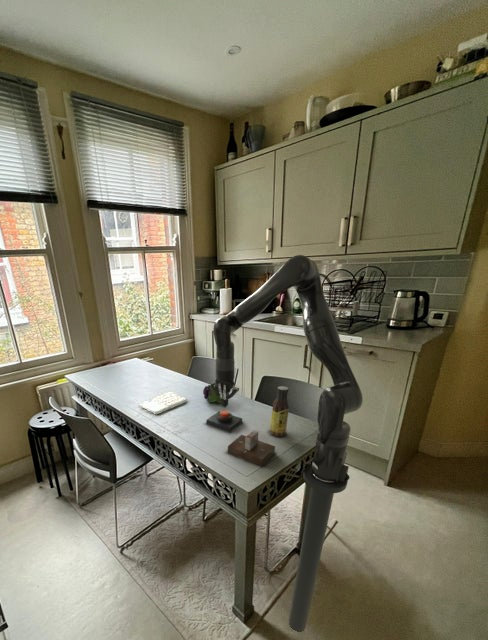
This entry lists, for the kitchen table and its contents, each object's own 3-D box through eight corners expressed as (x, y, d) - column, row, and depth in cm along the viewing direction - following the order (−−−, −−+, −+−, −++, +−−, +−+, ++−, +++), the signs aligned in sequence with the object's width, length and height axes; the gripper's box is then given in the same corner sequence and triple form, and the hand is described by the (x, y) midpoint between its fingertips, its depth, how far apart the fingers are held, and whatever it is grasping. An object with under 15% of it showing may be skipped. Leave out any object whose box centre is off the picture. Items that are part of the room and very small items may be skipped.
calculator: (187, 401, 158) (187, 398, 158) (155, 415, 146) (155, 411, 146) (170, 394, 167) (170, 391, 167) (139, 406, 155) (138, 402, 154)
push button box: (242, 422, 137) (242, 414, 136) (230, 432, 130) (230, 424, 129) (219, 415, 144) (219, 407, 143) (206, 424, 137) (206, 416, 136)
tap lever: (252, 441, 118) (253, 429, 116) (257, 443, 117) (258, 431, 115) (244, 448, 114) (245, 436, 112) (249, 450, 113) (250, 438, 111)
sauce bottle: (279, 438, 125) (284, 392, 116) (266, 432, 129) (270, 388, 121) (289, 433, 129) (294, 388, 120) (276, 427, 133) (280, 383, 125)
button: (230, 415, 136) (230, 411, 135) (225, 418, 134) (225, 415, 133) (223, 413, 138) (223, 409, 137) (218, 416, 136) (218, 412, 135)
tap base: (274, 452, 116) (275, 445, 115) (261, 466, 109) (262, 459, 108) (241, 440, 124) (241, 434, 123) (227, 452, 117) (227, 445, 116)
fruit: (212, 400, 166) (230, 403, 153) (195, 402, 160) (212, 405, 148) (211, 381, 165) (230, 382, 152) (194, 382, 159) (212, 384, 147)
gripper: (244, 367, 125) (242, 406, 132) (216, 362, 133) (216, 399, 140) (234, 373, 120) (233, 413, 127) (206, 367, 128) (206, 405, 135)
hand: (224, 406), depth 134 cm, fingers closed
